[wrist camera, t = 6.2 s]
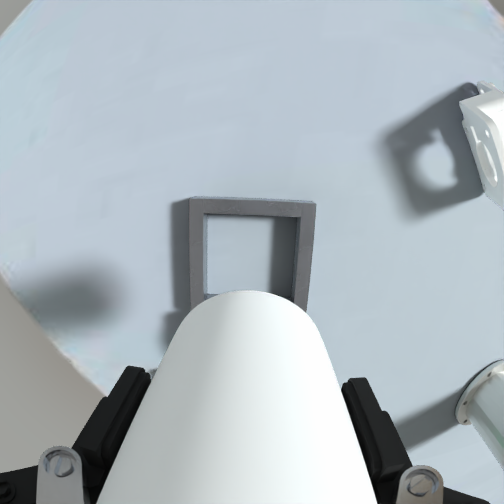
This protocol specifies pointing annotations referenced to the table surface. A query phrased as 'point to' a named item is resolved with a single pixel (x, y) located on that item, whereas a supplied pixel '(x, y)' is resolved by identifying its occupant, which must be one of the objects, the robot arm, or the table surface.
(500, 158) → the mounting bracket
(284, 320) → the can
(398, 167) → the table surface
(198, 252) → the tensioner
